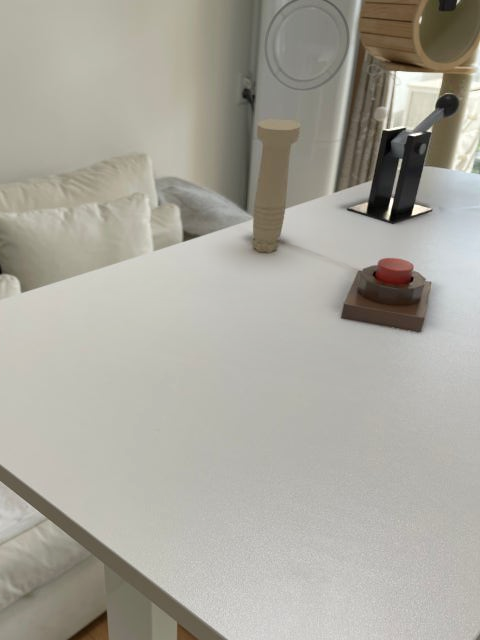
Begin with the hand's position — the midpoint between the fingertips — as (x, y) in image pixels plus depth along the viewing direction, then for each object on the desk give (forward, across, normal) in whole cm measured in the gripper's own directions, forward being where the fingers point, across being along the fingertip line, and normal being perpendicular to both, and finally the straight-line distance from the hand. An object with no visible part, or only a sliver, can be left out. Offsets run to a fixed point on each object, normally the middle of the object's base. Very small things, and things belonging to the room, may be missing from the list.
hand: (470, 11), depth 86 cm
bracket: (+26, 0, +9) cm, 27 cm away
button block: (+26, -18, +36) cm, 48 cm away
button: (+23, -19, +36) cm, 47 cm away
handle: (+26, +2, +34) cm, 43 cm away
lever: (+15, 0, +4) cm, 15 cm away
